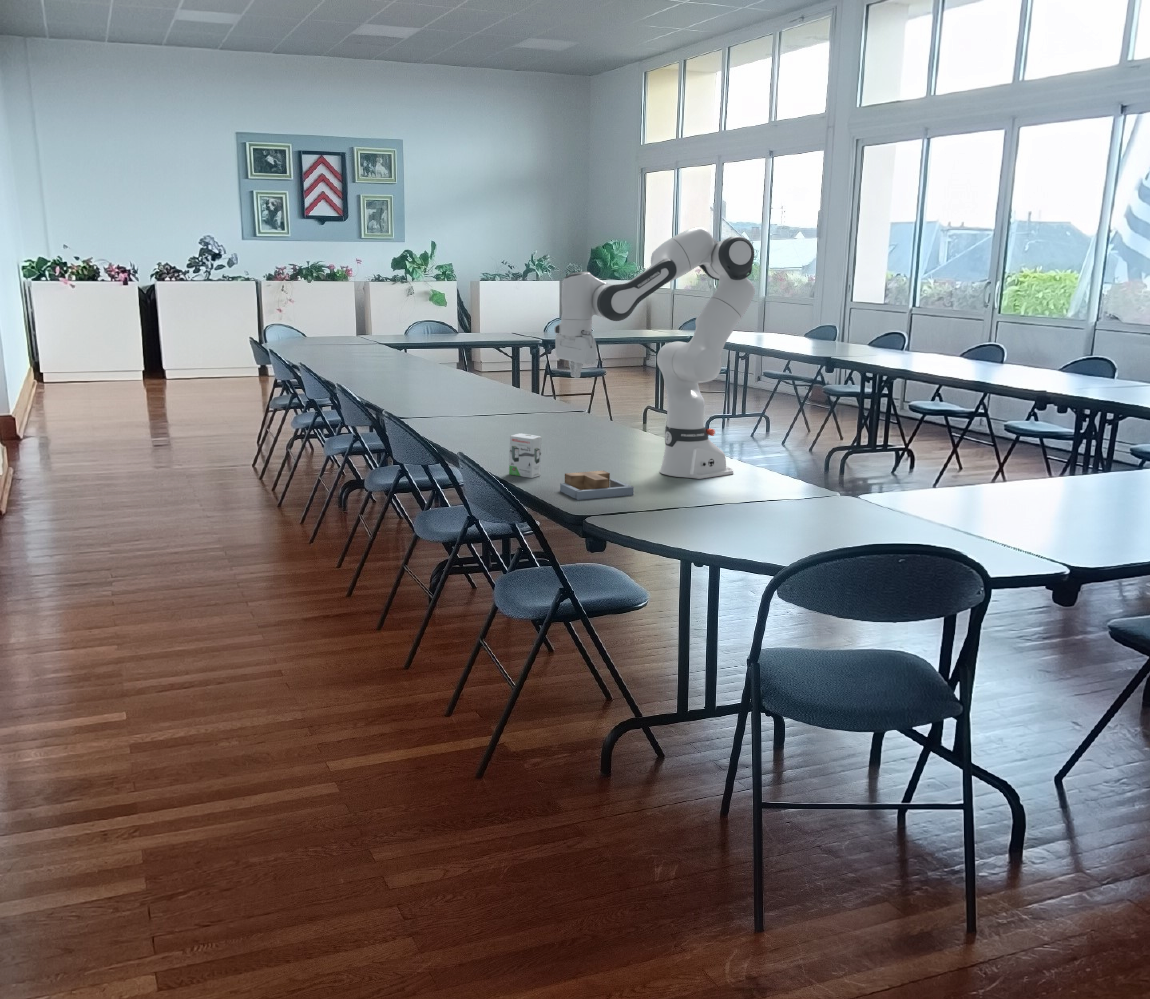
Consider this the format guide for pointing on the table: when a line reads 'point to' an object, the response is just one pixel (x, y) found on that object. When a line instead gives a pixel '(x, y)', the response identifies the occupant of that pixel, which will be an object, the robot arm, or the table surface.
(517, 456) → the ink box
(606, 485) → the t block
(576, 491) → the bay fence
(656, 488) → the table surface
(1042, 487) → the table surface
